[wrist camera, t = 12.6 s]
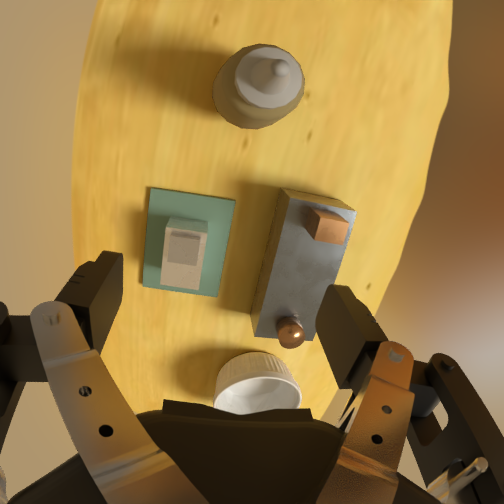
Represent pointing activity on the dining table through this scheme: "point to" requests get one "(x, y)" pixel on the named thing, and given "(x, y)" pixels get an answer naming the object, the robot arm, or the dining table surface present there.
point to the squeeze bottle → (258, 86)
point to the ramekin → (256, 385)
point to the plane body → (299, 265)
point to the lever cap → (183, 252)
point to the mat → (194, 208)
